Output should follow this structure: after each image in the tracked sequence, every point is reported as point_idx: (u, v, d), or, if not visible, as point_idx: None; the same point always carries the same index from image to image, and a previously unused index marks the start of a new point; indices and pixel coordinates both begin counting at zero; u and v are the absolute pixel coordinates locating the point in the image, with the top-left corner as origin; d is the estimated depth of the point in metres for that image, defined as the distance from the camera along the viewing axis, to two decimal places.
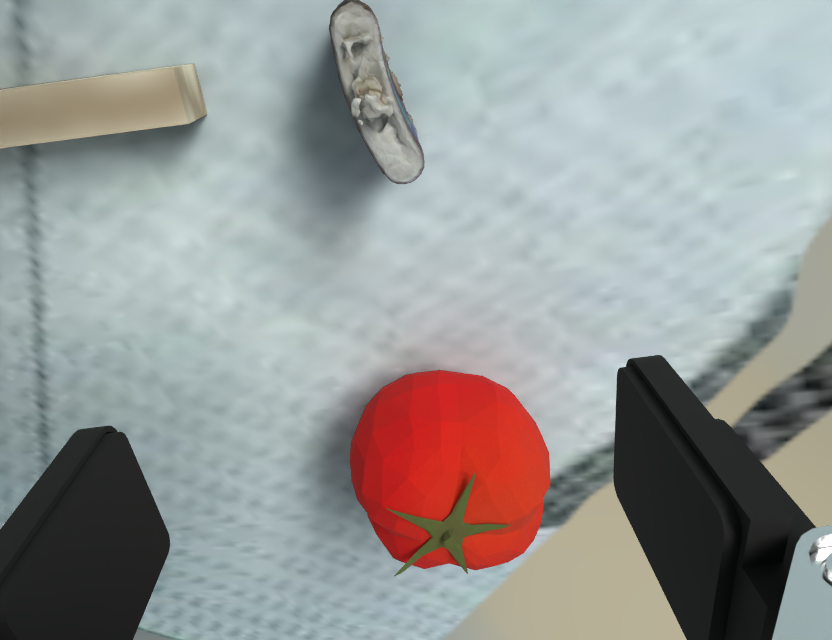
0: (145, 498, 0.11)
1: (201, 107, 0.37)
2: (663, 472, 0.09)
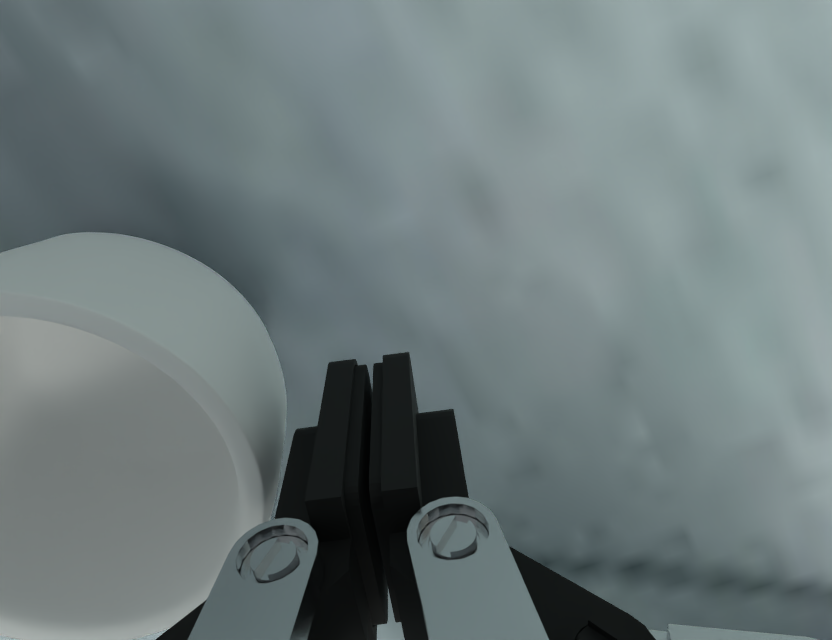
0: None
1: None
2: None
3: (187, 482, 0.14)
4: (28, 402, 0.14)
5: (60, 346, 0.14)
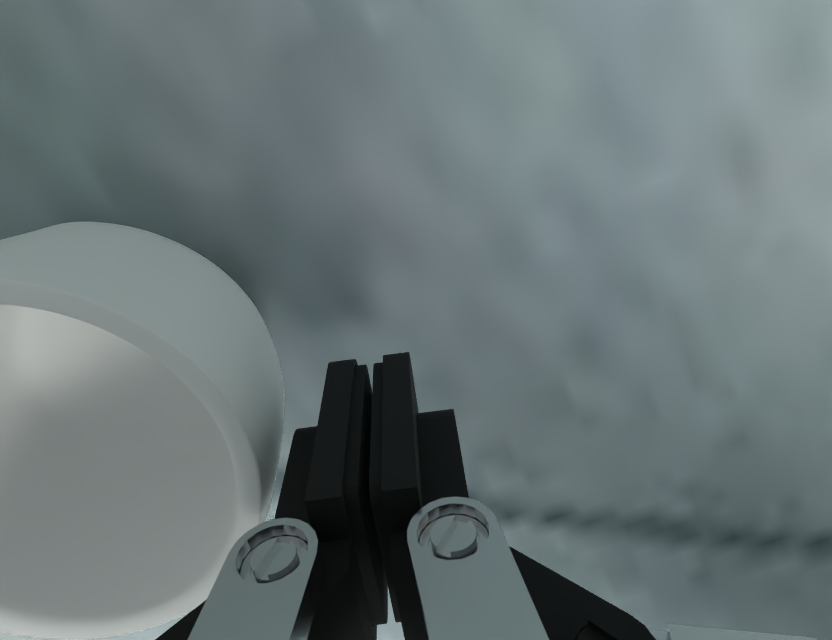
0: None
1: None
2: None
3: (182, 477, 0.14)
4: (21, 394, 0.14)
5: (56, 337, 0.14)
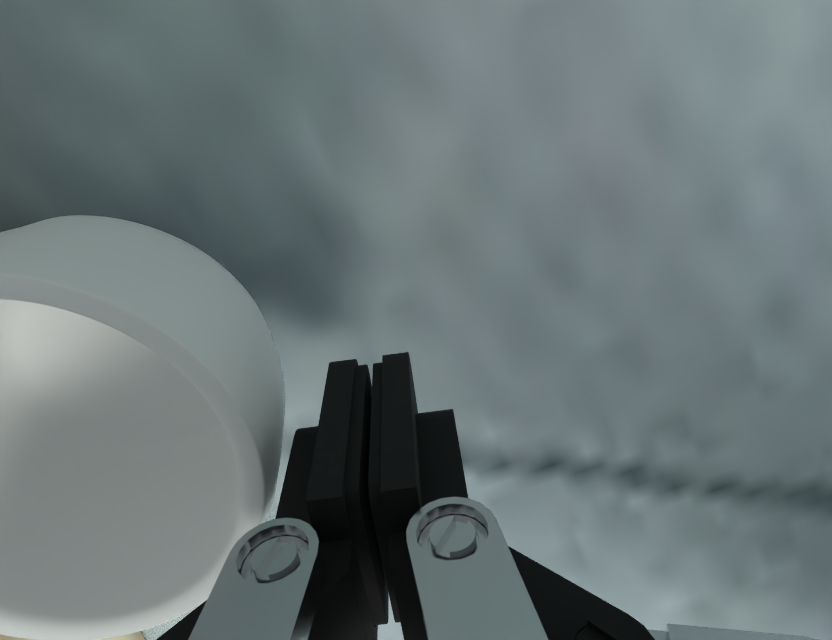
0: None
1: None
2: None
3: (181, 474, 0.14)
4: (15, 392, 0.14)
5: (50, 334, 0.14)
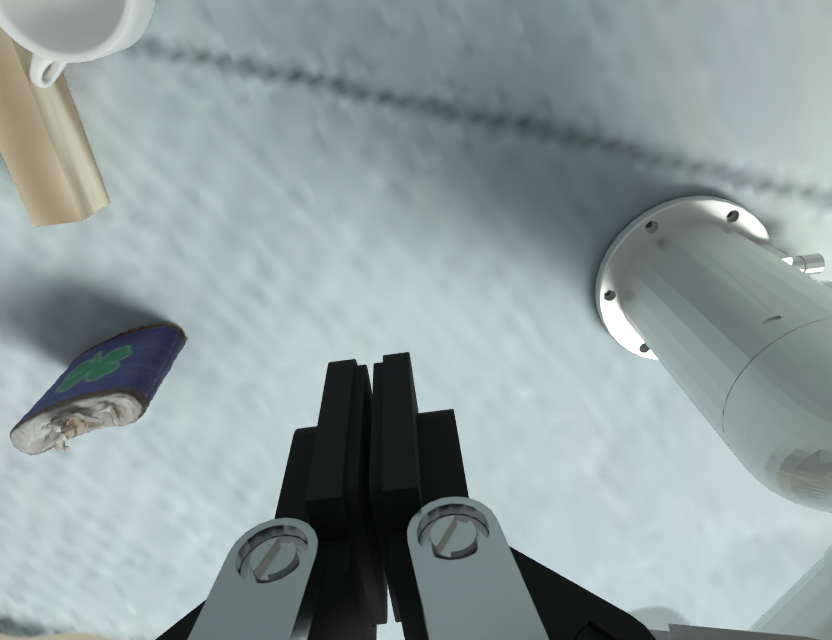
0: None
1: None
2: None
3: None
4: None
5: None
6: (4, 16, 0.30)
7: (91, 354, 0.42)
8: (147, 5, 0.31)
